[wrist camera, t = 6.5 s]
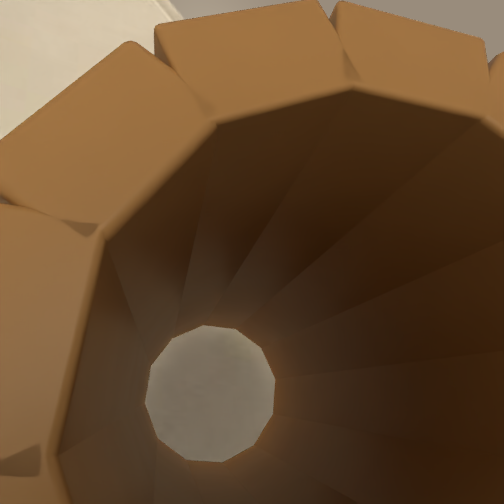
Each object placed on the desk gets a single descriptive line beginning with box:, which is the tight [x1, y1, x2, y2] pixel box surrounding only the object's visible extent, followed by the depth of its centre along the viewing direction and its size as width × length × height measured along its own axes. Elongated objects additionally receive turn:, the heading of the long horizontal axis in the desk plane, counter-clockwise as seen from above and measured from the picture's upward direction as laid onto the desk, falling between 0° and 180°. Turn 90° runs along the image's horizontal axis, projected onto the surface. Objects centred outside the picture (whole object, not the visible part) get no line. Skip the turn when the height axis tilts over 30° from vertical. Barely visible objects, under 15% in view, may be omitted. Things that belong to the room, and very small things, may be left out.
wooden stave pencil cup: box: [0, 0, 504, 504], centre depth 9 cm, size 7×7×13 cm
